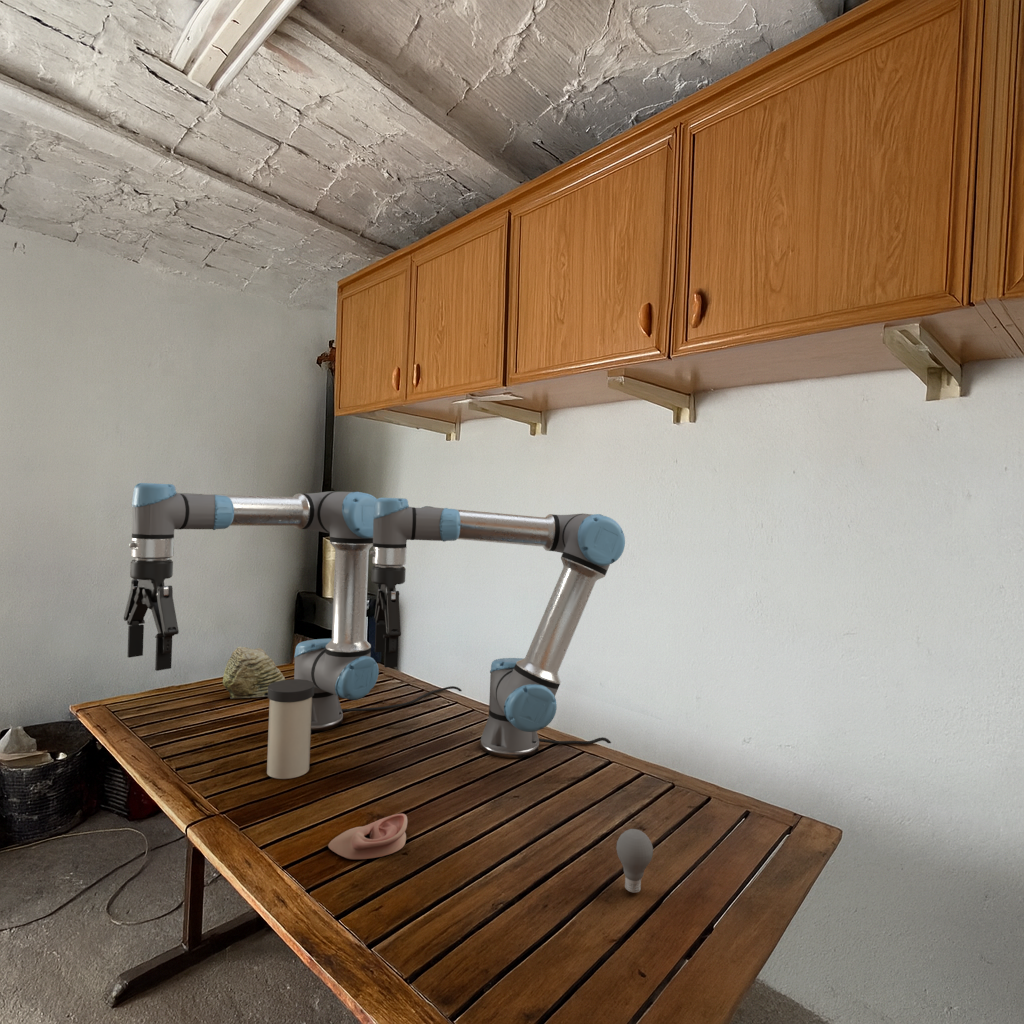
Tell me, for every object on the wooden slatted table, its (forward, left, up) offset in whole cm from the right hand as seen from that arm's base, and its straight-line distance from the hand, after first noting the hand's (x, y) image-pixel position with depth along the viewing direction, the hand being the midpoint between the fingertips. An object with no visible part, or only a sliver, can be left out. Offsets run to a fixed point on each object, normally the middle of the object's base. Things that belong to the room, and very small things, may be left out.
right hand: (385, 659), depth 144 cm
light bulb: (-33, +54, -27) cm, 69 cm away
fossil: (+29, -68, -27) cm, 79 cm away
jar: (+20, -9, -27) cm, 35 cm away
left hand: (+48, -2, +1) cm, 48 cm away
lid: (+20, -9, -8) cm, 23 cm away
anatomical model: (+7, +27, -27) cm, 39 cm away
